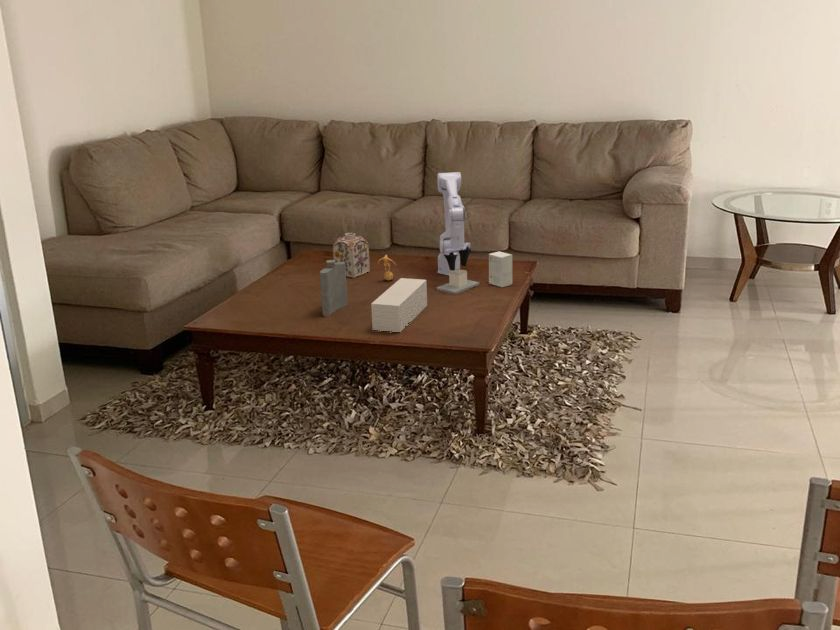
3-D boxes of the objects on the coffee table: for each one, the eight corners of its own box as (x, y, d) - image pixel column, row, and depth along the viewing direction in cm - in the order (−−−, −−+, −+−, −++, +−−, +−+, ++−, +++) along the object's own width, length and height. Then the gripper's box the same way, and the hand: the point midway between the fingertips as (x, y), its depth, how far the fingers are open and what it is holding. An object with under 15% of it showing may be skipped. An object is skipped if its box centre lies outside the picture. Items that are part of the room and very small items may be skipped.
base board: (436, 289, 368) (436, 287, 367) (460, 280, 379) (460, 278, 379) (455, 294, 361) (455, 291, 361) (479, 284, 373) (479, 282, 372)
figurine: (399, 279, 383) (398, 252, 379) (394, 283, 378) (393, 256, 374) (381, 278, 385) (380, 251, 381) (376, 282, 380) (375, 255, 376)
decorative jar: (350, 268, 402) (348, 229, 396) (370, 271, 395) (368, 232, 389) (333, 274, 393) (330, 235, 387) (353, 278, 386) (351, 238, 380)
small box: (512, 284, 372) (512, 254, 367) (501, 287, 368) (501, 257, 363) (499, 280, 377) (499, 250, 373) (488, 283, 374) (488, 253, 369)
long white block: (401, 303, 353) (400, 278, 349) (427, 305, 350) (426, 279, 346) (372, 331, 324) (371, 303, 321) (400, 333, 321) (398, 305, 318)
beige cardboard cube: (449, 285, 370) (449, 271, 368) (457, 282, 373) (457, 268, 371) (459, 287, 366) (458, 273, 364) (467, 284, 370) (466, 270, 368)
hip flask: (328, 316, 340) (324, 266, 334) (319, 315, 342) (315, 265, 335) (349, 304, 354) (346, 256, 347) (340, 303, 355) (337, 255, 349)
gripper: (453, 241, 355) (454, 273, 360) (475, 233, 365) (476, 265, 370) (440, 238, 360) (440, 270, 364) (462, 231, 370) (463, 262, 374)
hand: (457, 267), depth 367 cm, fingers open, 7 cm apart
